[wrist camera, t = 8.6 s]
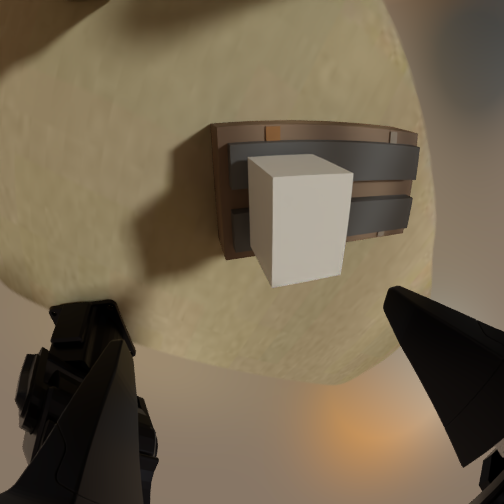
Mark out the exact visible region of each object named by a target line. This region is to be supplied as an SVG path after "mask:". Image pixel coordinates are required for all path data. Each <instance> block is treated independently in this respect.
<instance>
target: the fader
mask: <svg viewBox="0 0 504 504" xmlns="http://www.w3.org/2000/svg"><path fill="white" fill-rule="evenodd" d="M353 174H354V173H352V172H350V171H348V170H346V169H344V168H342V167H339V166H337V165H335V164H333V163H331V162H329V161H327V160H324V159H322V158H320V157H318V156H316V155H313V154H297V155H274V156H257V157H248V184H249V216H250V246H251V248H252V250H253V252H254V254H255V256H256V258H257V260H258V262H259V264H260V266H261V268H262V270H263V272H264V274H265V276H266V277H267V279H268V281H269V283H270V285H271V287H272V288H274V287H280V286H285V285H291V284H296V283H301V282H306V281H312V280H317V279H322V278H327V277H332V276H337V275H340V274H341V268H342V262H343V256H344V249H345V243H346V236H347V228H348V220H349V212H350V204H351V195H352V185H353Z"/></svg>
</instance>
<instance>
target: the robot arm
mask: <svg viewBox="0 0 504 504" xmlns="http://www.w3.org/2000/svg"><path fill="white" fill-rule="evenodd" d="M108 305H111V306H113V307H110V306H108ZM383 309H384V312H385V314H386V316H387V318H388V321H389V323H390V325H391V327H392V329H393V331H394V333H395V335H396V338H397V340H398V342H399V344H400V346H401V347H402V349H403V351H404V353H405V354H406V356H407V358H408V359H409V361H410V363H411V365H412V366H413V368H414V370H415V372H416V374H417V375H418V377H419V379H420V381H421V383H422V385H423V387H424V388H425V390H426V392H427V394H428V396H429V398H430V400H431V402H432V404H433V405H434V407H435V409H436V411H437V414H438V416H439V418H440V419H441V422H442V423H443V426H444V427H445V430H446V432H447V434H448V436H449V439H450V441H451V443H452V445H453V447H454V450H455V452H456V454H457V456H458V459H459V461H460V463H461V465H462V467H463V468H464V467H465V466H467V465H468V464H470V463H471V462H473V461H474V460H476V459H477V458H478V457H480V456H481V455H483V454H484V453H485V452H487V451H488V450H489V449H491V448H492V447H493V446H495V447H496V448H495V449H494V450H493V451H492V452H491V453H490V454H489V455H488V456H487V457H486V458H485V459H484V460H483V465H482V471H481V477H480V482H479V486H480V488H481V490H482V492H481V493H480V494H479V495H478V496H477V497H476V498H475V499H474V500H473V501H471V502H470V503H469V504H504V332H503V331H501V330H499V329H496V328H494V327H492V326H489V325H487V324H485V323H482V322H480V321H478V320H476V319H474V318H472V317H469V316H467V315H465V314H463V313H460V312H458V311H456V310H454V309H451V308H449V307H446V306H445V305H442V304H440V303H438V302H436V301H433V300H431V299H429V298H427V297H424V296H422V295H420V294H417V293H415V292H413V291H411V290H408V289H406V288H404V287H401V286H394V287H391V288H389V289H388V292H387V295H386V298H385V301H384V305H383ZM54 312H55V313H54ZM49 314H50V316H51V318H52V320H53V322H54V324H55V325H56V326H55V329H54V331H53V334H52V337H51V343H52V344H51V348H50V351H48V350H47V349H45V348H43V347H42V349H41V350H40V352H39V354H35V355H34V354H27V355H26V357H25V360H24V363H23V366H22V369H21V372H20V376H19V380H18V385H17V390H16V396H15V402H16V404H17V406H18V408H19V427H20V428H21V429H23V430H25V431H26V432H25V436H24V441H23V452H24V455H25V457H26V460H27V463H28V466H27V468H26V469H25V471H24V472H23V474H22V475H21V476H20V478H19V479H18V481H17V482H16V483H15V484H14V485H13V486H12V487H11V488H10V489H8V490H7V491H5V492H3V493H1V494H0V504H150V489H151V481H152V477H153V474H154V471H155V468H156V466H157V464H158V462H159V459H158V458H157V457H156V456H157V449H158V443H157V437H156V432H155V430H154V428H153V425H152V423H151V420H150V417H149V414H148V411H147V408H146V404H145V401H144V399H143V398H141V397H139V396H137V394H136V385H135V373H134V362H133V356H135V354H136V350H135V347H134V345H133V343H132V341H131V338H130V336H129V334H128V331H127V329H126V326H125V324H124V322H123V319H122V317H121V314H120V312H119V309H118V306H117V304H116V302H115V301H113V300H102V301H94V302H83V303H75V304H67V305H61V306H53V307H51V308H50V310H49Z"/></svg>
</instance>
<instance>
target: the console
mask: <svg viewBox="0 0 504 504" xmlns="http://www.w3.org/2000/svg"><path fill="white" fill-rule="evenodd" d="M211 138H212V154H213V169H214V183H215V197H216V209H217V221H218V233H219V240H220V243H221V246H222V249H223V253H224V256H225V259H226V260H231V259H238V258H244V257H251V256H255V254H254V252H253V250H252V248H251V246H250V216H249V184H248V157H257V156H274V155H297V154H313V155H316V156H318V157H320V158H322V159H324V160H327V161H329V162H331V163H333V164H335V165H337V166H339V167H342V168H344V169H346V170H348V171H350V172H352V173H354V174H353V185H352V195H351V204H350V212H349V220H348V228H347V236H346V242H349V241H356V240H362V239H368V238H375V237H381V236H388V235H394V234H400V233H403V230H404V228H407V225H408V220H409V215H410V210H411V205H412V199H413V198H412V197H410V193H411V187H412V180H416V174H417V167H418V159H419V150H420V147H417V138H418V134H417V133H414V132H410V131H406V130H402V129H398V128H394V127H388V126H380V125H370V124H360V123H347V122H330V121H296V120H279V121H245V122H228V123H215V124H211Z"/></svg>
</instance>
